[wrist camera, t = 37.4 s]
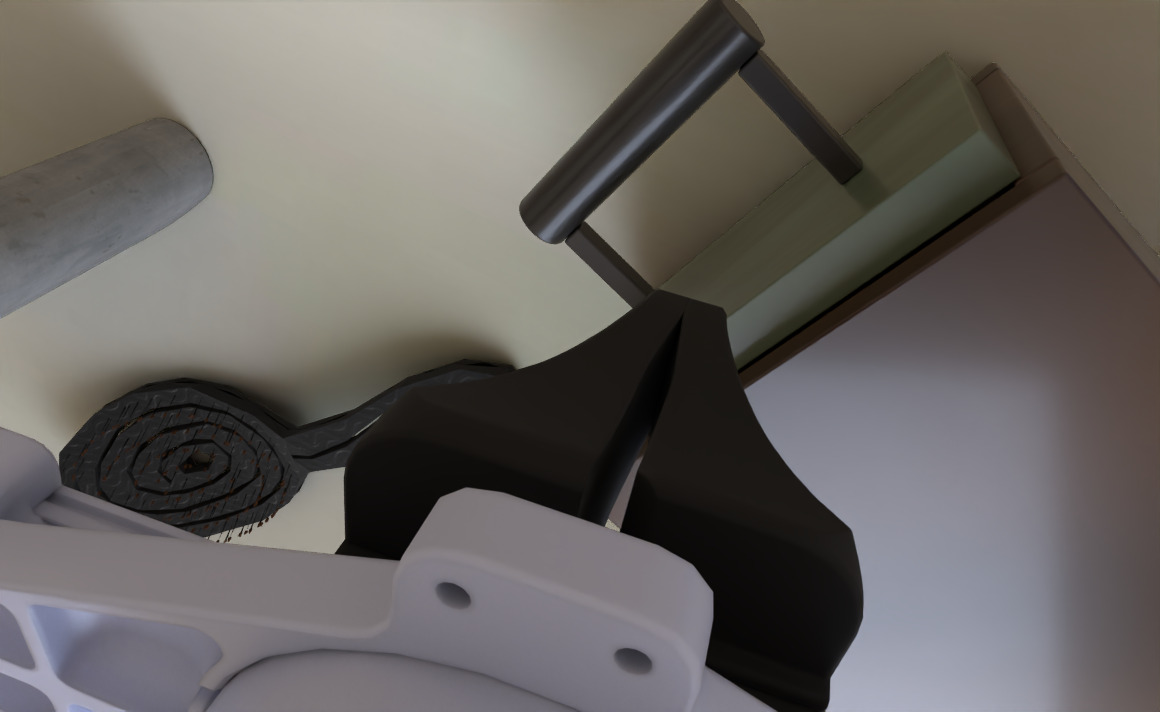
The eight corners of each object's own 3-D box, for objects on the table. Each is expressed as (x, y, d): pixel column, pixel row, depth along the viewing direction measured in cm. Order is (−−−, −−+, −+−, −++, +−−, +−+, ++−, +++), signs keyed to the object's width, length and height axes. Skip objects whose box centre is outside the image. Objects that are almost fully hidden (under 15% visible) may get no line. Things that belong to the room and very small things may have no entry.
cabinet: (649, 331, 27) (580, 495, 20) (993, 59, 20) (1066, 171, 13) (920, 593, 29) (940, 815, 23) (1310, 438, 22) (1509, 695, 15)
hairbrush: (546, 508, 29) (110, 587, 39) (570, 447, 32) (161, 535, 42) (440, 317, 25) (-6, 457, 35) (479, 270, 28) (58, 412, 38)
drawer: (519, 203, 24) (427, 301, 19) (810, -110, 18) (791, -92, 13) (896, 567, 28) (906, 735, 23) (1254, 414, 21) (1386, 600, 16)
